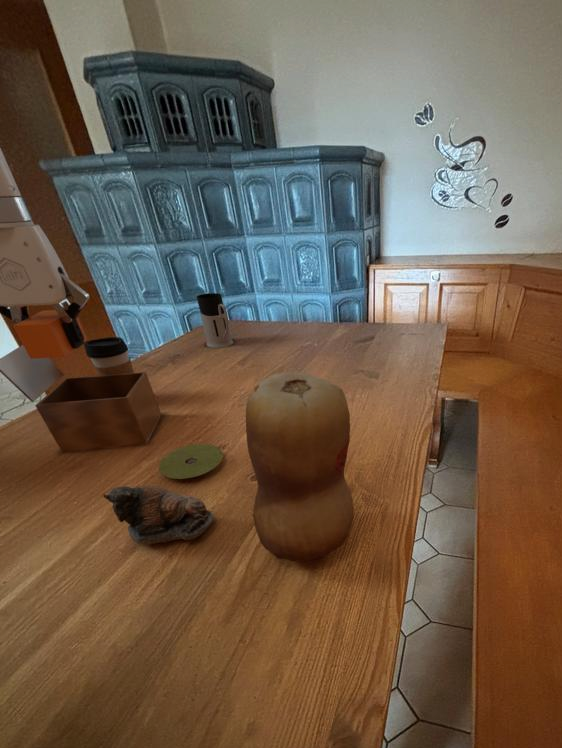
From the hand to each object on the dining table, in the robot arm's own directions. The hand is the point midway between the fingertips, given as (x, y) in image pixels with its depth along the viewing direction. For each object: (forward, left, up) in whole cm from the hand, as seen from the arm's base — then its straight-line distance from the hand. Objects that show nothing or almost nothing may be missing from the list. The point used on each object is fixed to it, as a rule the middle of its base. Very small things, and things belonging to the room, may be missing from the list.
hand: (59, 345), depth 63 cm
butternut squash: (+37, -32, -22) cm, 53 cm away
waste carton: (-2, +8, -21) cm, 23 cm away
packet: (0, 0, 0) cm, 0 cm away
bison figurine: (+17, -27, -22) cm, 38 cm away
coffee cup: (-4, +24, -22) cm, 33 cm away
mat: (+17, -9, -22) cm, 29 cm away
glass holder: (+15, +63, -22) cm, 69 cm away
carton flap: (-11, +8, -6) cm, 15 cm away
